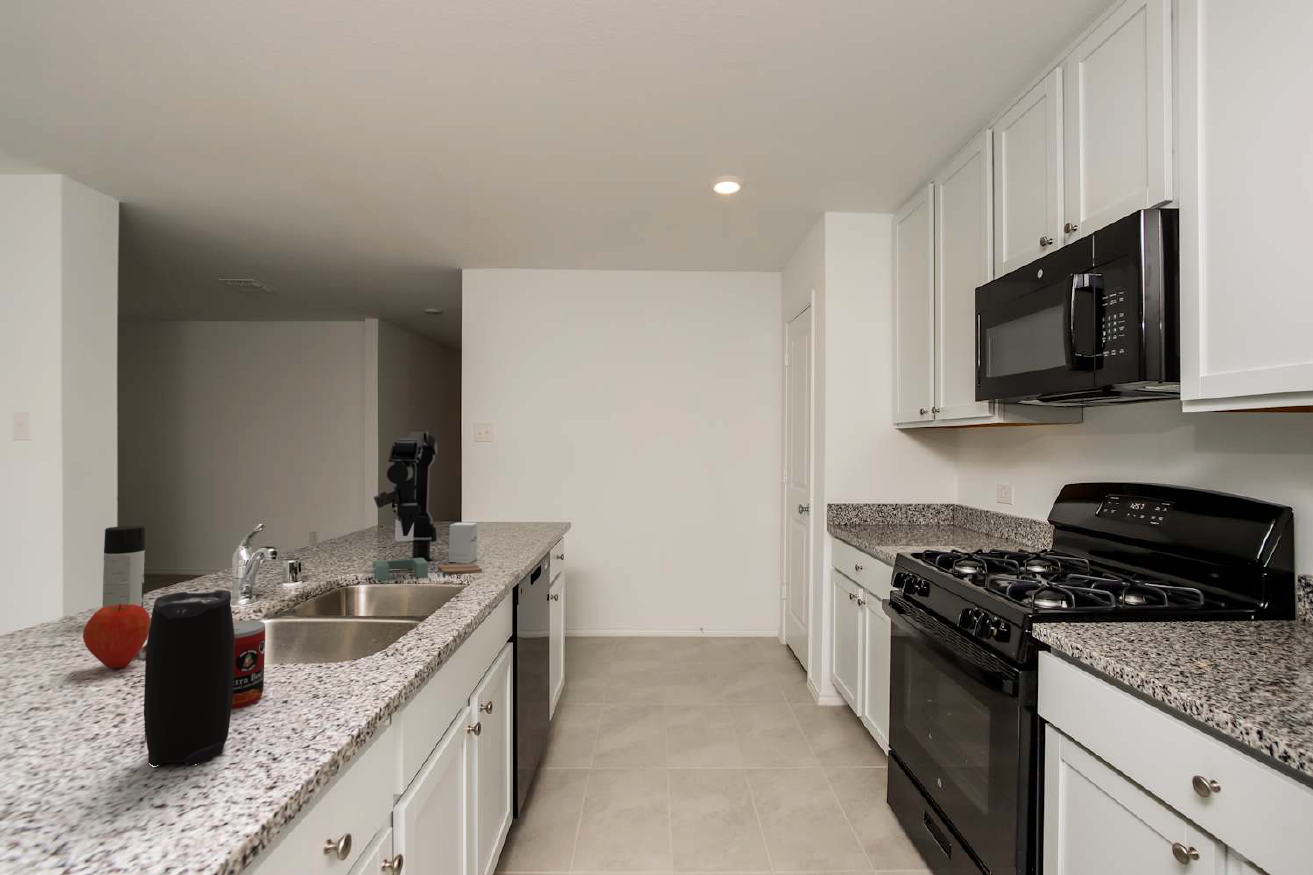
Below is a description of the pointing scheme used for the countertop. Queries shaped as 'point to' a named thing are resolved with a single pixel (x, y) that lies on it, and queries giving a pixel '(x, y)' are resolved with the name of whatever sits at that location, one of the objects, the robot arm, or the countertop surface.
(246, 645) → the canned food
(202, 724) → the portable speaker
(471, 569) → the copper plate
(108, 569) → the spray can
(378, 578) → the vise
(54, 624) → the countertop surface
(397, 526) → the steel block
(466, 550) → the supplement box
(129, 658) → the apple
